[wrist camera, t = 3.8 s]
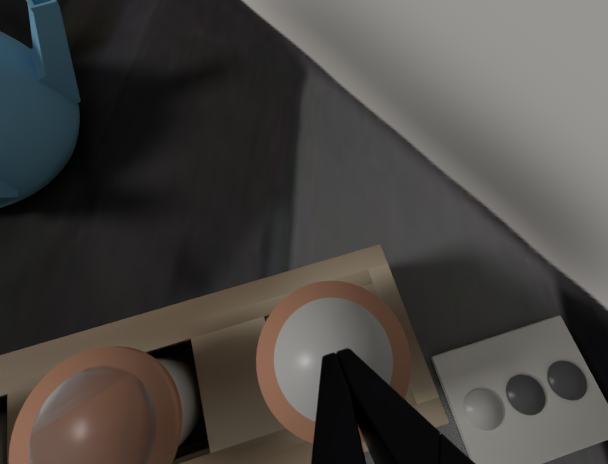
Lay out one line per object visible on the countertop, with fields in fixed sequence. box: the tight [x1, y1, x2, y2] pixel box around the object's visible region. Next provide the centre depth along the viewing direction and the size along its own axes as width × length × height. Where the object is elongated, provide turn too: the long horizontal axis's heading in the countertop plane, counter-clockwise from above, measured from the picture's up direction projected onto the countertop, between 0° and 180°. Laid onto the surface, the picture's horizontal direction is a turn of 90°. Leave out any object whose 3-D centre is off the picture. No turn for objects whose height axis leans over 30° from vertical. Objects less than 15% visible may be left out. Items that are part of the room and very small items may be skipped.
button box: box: [0, 244, 449, 464], centre depth 17 cm, size 8×24×7 cm, turn 106°
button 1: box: [256, 281, 411, 443], centre depth 13 cm, size 5×5×5 cm
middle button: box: [9, 346, 203, 464], centre depth 12 cm, size 5×5×5 cm
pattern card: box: [430, 316, 608, 464], centre depth 19 cm, size 7×9×1 cm
